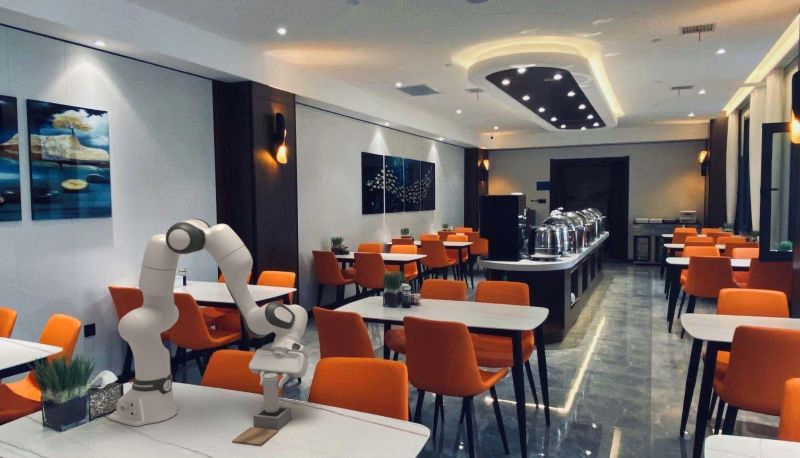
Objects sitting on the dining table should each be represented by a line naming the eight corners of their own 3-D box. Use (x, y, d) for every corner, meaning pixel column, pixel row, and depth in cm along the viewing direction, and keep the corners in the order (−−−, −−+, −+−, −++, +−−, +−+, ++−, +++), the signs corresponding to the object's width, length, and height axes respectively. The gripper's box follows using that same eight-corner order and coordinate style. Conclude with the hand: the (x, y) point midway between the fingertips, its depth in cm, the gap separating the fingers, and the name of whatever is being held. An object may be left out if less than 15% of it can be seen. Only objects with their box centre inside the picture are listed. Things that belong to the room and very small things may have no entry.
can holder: (253, 427, 174) (253, 415, 173) (268, 416, 182) (267, 405, 182) (278, 430, 171) (277, 418, 171) (291, 419, 180) (291, 407, 179)
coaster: (232, 442, 163) (232, 440, 163) (250, 428, 173) (250, 427, 173) (260, 446, 160) (260, 444, 160) (278, 432, 170) (277, 430, 170)
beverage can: (276, 413, 174) (274, 378, 173) (262, 413, 175) (260, 377, 174) (281, 407, 179) (280, 372, 178) (267, 407, 179) (266, 372, 178)
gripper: (254, 342, 185) (238, 379, 177) (307, 346, 179) (294, 384, 171) (261, 351, 190) (247, 387, 181) (313, 355, 184) (301, 393, 175)
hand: (270, 386), depth 176 cm, fingers closed on beverage can, 5 cm apart
